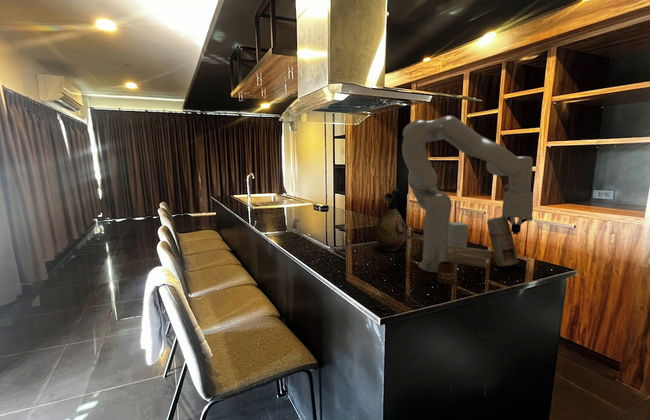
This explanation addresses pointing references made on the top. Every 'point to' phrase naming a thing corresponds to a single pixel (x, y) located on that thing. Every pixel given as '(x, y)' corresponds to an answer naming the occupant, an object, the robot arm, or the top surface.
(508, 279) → the top surface
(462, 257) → the u-rest
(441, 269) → the utensil holder
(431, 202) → the robot arm
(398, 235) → the ceramic jug
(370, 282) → the top surface
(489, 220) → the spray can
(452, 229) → the supplement box
